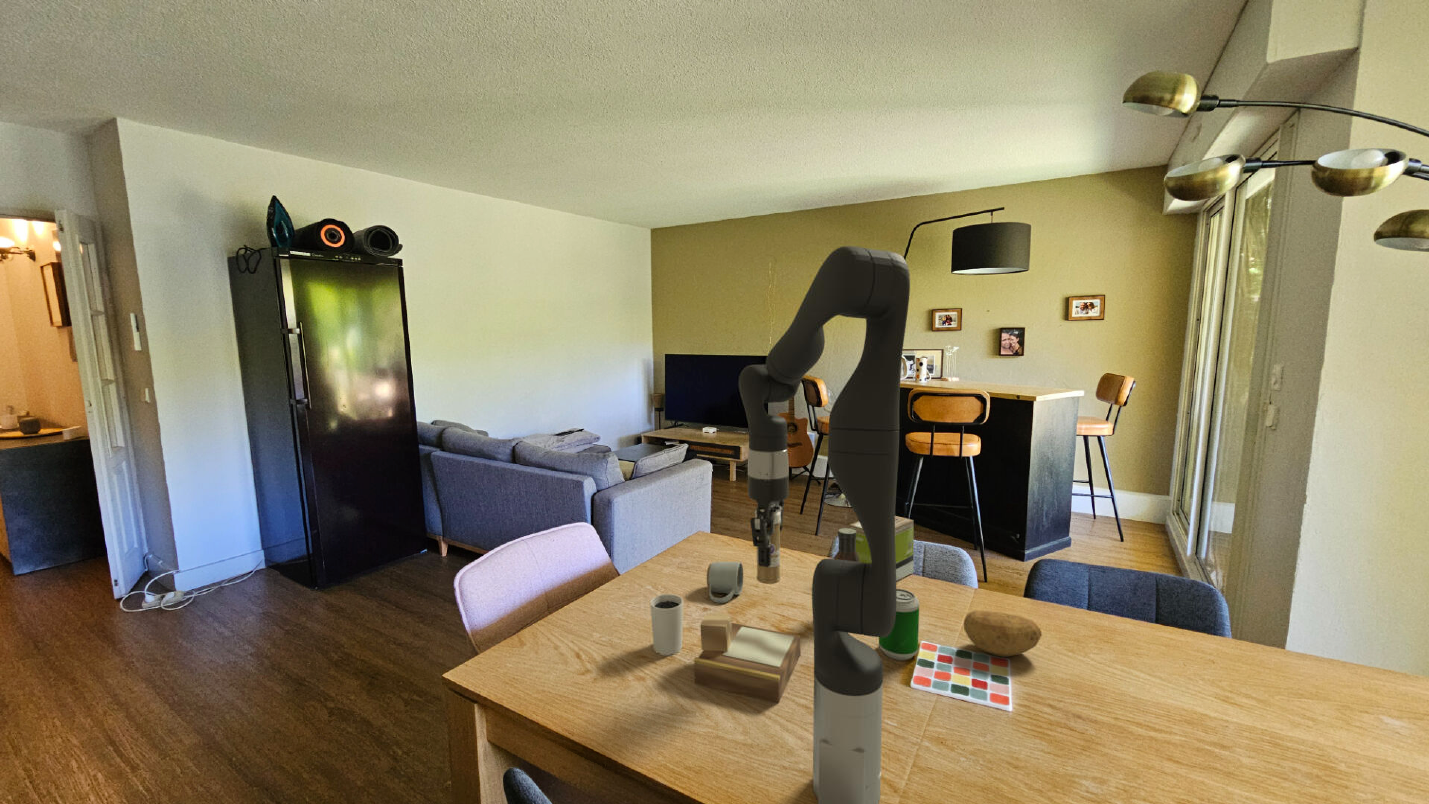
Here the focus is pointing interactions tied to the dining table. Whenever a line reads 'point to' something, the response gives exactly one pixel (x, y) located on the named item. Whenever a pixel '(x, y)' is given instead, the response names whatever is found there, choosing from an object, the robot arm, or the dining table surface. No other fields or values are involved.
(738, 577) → the ceramic mug
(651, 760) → the dining table surface
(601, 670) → the dining table surface
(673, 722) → the dining table surface
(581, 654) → the dining table surface
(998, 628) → the potato
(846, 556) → the sauce bottle
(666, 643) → the white cup
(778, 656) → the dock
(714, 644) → the wooden cube
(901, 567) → the tea box
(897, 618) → the soda can
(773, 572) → the sprinkles bottle
